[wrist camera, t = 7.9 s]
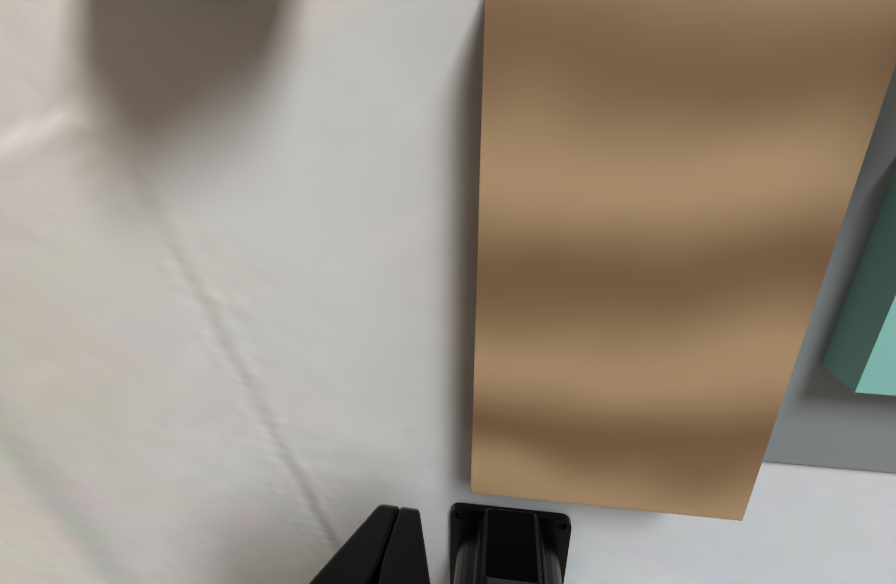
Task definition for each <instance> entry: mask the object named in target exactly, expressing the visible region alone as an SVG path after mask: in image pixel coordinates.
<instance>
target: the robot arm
mask: <svg viewBox="0 0 896 584" xmlns="http://www.w3.org/2000/svg"><path fill="white" fill-rule="evenodd" d="M458 512H461V513H458ZM560 523H563V524H560ZM570 534H571V521H570V518H569V517H568V516H567V515H565V514H560V513H551V512H542V511H532V510H523V509H513V508H504V507H494V506H485V505H476V504H466V503H456V504H454V505H453V506H452V509H451V543H450V584H563V583H564V576H565V569H566V562H567V555H568V548H569V541H570ZM309 584H430V578H429V572H428V565H427V558H426V552H425V545H424V538H423V532H422V525H421V518H420V512H419V510H418V509H413V508H406V507H402V508H400V509H399V508H398V507H397V506H392V505H385V504H382V505H379V506H378V507H377V508H376V509H375V510H374V512H373V513H372V514H371V515H370V516H369V517H368V518H367V519H366V520H365V522H364V523H363V524H362V525H361V526H360V527H359V528H358V529H357V531H356V532H355V533H354V534H353V535H352V536H351V537H350V538H349V539H348V541H347V542H346V543H345V544H344V545H343V546H342V547H341V548H340V550H339V551H338V552H337V553H336V554H335V555H334V556H333V557H332V558H331V560H330V561H329V562H328V563H327V564H326V565H325V566H324V567H323V569H322V570H321V571H320V572H319V573H318V574H317V575H316V576H315V577H314V579H313V580H312V581H311V582H310V583H309Z"/></svg>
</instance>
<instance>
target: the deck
mask: <svg viewBox="0 0 896 584" xmlns="http://www.w3.org/2000/svg"><path fill="white" fill-rule="evenodd" d="M895 65H896V0H485V14H484V48H483V82H482V117H481V151H480V185H479V220H478V254H477V288H476V322H475V357H474V391H473V425H472V460H471V493H478V494H488V495H497V496H507V497H517V498H526V499H536V500H546V501H555V502H565V503H575V504H584V505H594V506H604V507H613V508H623V509H633V510H643V511H652V512H662V513H672V514H681V515H691V516H701V517H710V518H720V519H730V520H739V521H742V519H743V516H744V514H745V511H746V508H747V505H748V502H749V499H750V496H751V493H752V490H753V487H754V484H755V481H756V478H757V475H758V472H759V469H760V466H761V463H762V460H763V457H764V454H765V451H766V448H767V445H768V442H769V439H770V436H771V433H772V430H773V427H774V424H775V421H776V418H777V415H778V413H779V410H780V407H781V404H782V401H783V398H784V395H785V392H786V389H787V386H788V383H789V380H790V377H791V374H792V371H793V368H794V365H795V362H796V359H797V356H798V353H799V350H800V347H801V344H802V341H803V338H804V335H805V332H806V329H807V326H808V323H809V320H810V317H811V314H812V311H813V309H814V306H815V303H816V300H817V297H818V294H819V291H820V288H821V285H822V282H823V279H824V276H825V273H826V270H827V267H828V264H829V261H830V258H831V255H832V252H833V249H834V246H835V243H836V240H837V237H838V234H839V231H840V228H841V225H842V222H843V219H844V216H845V213H846V210H847V208H848V205H849V202H850V199H851V196H852V193H853V190H854V187H855V184H856V181H857V178H858V175H859V172H860V169H861V166H862V163H863V160H864V157H865V154H866V151H867V148H868V145H869V142H870V139H871V136H872V133H873V130H874V127H875V124H876V121H877V118H878V115H879V112H880V109H881V107H882V104H883V101H884V98H885V95H886V92H887V89H888V86H889V83H890V80H891V77H892V74H893V71H894V68H895Z"/></svg>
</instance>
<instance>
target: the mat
mask: <svg viewBox="0 0 896 584" xmlns="http://www.w3.org/2000/svg"><path fill="white" fill-rule="evenodd" d="M895 168H896V65H895V68H894V71H893V74H892V77H891V80H890V83H889V86H888V89H887V92H886V95H885V98H884V101H883V104H882V107H881V109H880V112H879V115H878V118H877V121H876V124H875V127H874V130H873V133H872V136H871V139H870V142H869V145H868V148H867V151H866V154H865V157H864V160H863V163H862V166H861V169H860V172H859V175H858V178H857V181H856V184H855V187H854V190H853V193H852V196H851V199H850V202H849V205H848V208H847V210H846V213H845V216H844V219H843V222H842V225H841V228H840V231H839V234H838V237H837V240H836V243H835V246H834V249H833V252H832V255H831V258H830V261H829V264H828V267H827V270H826V273H825V276H824V279H823V282H822V285H821V288H820V291H819V294H818V297H817V300H816V303H815V306H814V309H813V311H812V314H811V317H810V320H809V323H808V326H807V329H806V332H805V335H804V338H803V341H802V344H801V347H800V350H799V353H798V356H797V359H796V362H795V365H794V368H793V371H792V374H791V377H790V380H789V383H788V386H787V389H786V392H785V395H784V398H783V401H782V404H781V407H780V410H779V413H778V415H777V418H776V421H775V424H774V427H773V430H772V433H771V436H770V439H769V442H768V445H767V448H766V451H765V454H764V457H763V460H762V461H767V462H778V463H790V464H801V465H812V466H824V467H835V468H846V469H858V470H869V471H881V472H892V473H896V396H895V395H882V394H870V393H857V392H854V391H853V390H851V389H850V388H849V387H848V386H846V385H845V384H844V383H842V382H841V381H840V380H839V379H837V378H836V377H835V376H834V375H832V374H831V373H830V372H829V371H827V370H826V369H825V368H824V367H822V366H821V364H822V362H823V359H824V356H825V354H826V351H827V348H828V346H829V343H830V340H831V338H832V335H833V332H834V330H835V327H836V324H837V322H838V319H839V317H840V314H841V311H842V309H843V306H844V303H845V301H846V298H847V295H848V293H849V290H850V287H851V285H852V282H853V279H854V277H855V274H856V271H857V269H858V266H859V264H860V261H861V258H862V256H863V253H864V250H865V248H866V245H867V242H868V240H869V237H870V234H871V232H872V229H873V226H874V224H875V221H876V218H877V216H878V213H879V211H880V208H881V205H882V203H883V200H884V197H885V195H886V192H887V189H888V187H889V184H890V181H891V179H892V176H893V173H894V171H895Z"/></svg>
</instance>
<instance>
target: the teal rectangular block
mask: <svg viewBox="0 0 896 584" xmlns="http://www.w3.org/2000/svg"><path fill="white" fill-rule="evenodd" d="M821 366H822V367H824V368H825V369H826V370H827V371H829V372H830V373H831V374H832V375H834V376H835V377H836V378H837V379H839V380H840V381H841V382H842V383H844V384H845V385H846V386H848V387H849V388H850V389H851V390H853V391H854V392H857V393H870V394H882V395H895V396H896V168H895V171H894V173H893V176H892V179H891V181H890V184H889V187H888V189H887V192H886V195H885V197H884V200H883V203H882V205H881V208H880V211H879V213H878V216H877V218H876V221H875V224H874V226H873V229H872V232H871V234H870V237H869V240H868V242H867V245H866V248H865V250H864V253H863V256H862V258H861V261H860V264H859V266H858V269H857V271H856V274H855V277H854V279H853V282H852V285H851V287H850V290H849V293H848V295H847V298H846V301H845V303H844V306H843V309H842V311H841V314H840V317H839V319H838V322H837V324H836V327H835V330H834V332H833V335H832V338H831V340H830V343H829V346H828V348H827V351H826V354H825V356H824V359H823V362H822V364H821Z"/></svg>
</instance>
